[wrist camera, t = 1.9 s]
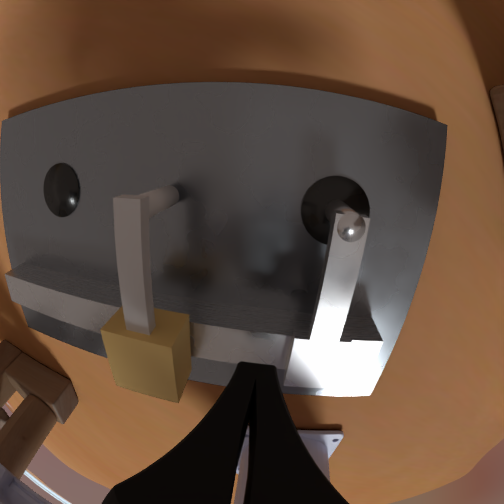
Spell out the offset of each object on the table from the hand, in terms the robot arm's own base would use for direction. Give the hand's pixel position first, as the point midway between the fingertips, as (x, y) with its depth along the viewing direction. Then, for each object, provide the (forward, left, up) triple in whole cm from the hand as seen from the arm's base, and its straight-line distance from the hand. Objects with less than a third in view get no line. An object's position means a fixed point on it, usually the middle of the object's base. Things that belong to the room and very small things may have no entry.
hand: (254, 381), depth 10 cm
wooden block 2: (-12, +21, -5) cm, 25 cm away
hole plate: (+3, +5, -5) cm, 8 cm away
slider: (+2, +5, -4) cm, 6 cm away
